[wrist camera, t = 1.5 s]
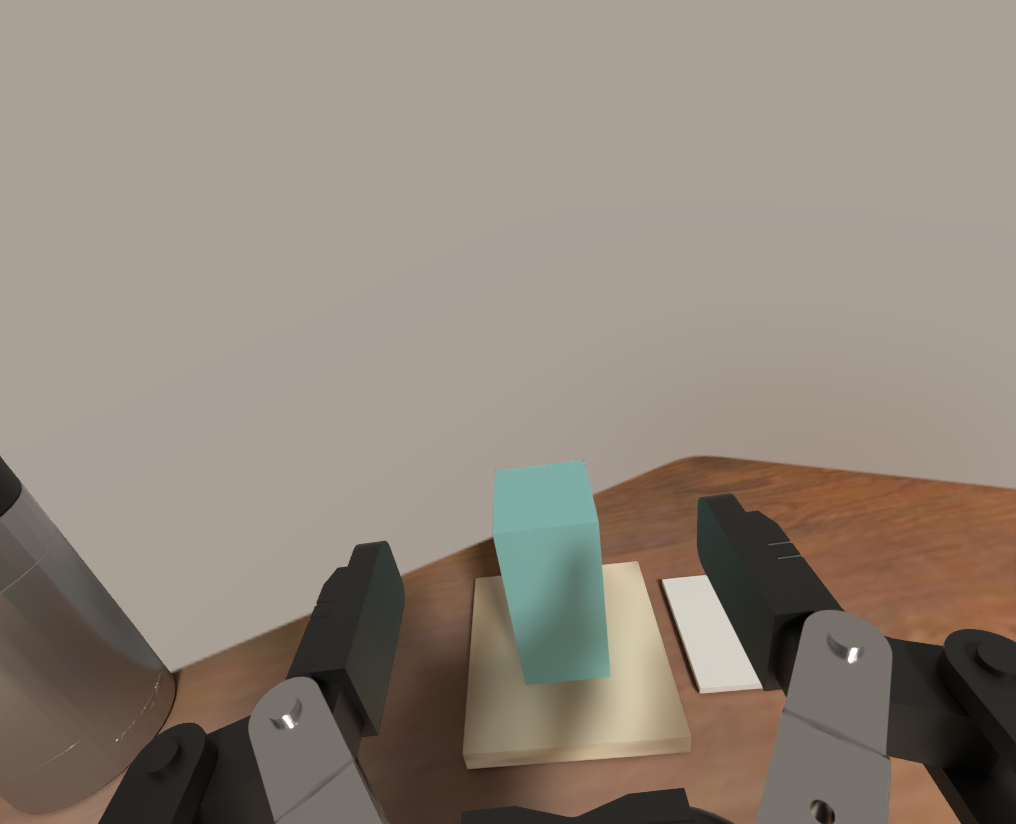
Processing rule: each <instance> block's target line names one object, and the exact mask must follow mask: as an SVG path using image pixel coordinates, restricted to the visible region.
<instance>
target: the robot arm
mask: <svg viewBox="0 0 1016 824" xmlns="http://www.w3.org/2000/svg"><path fill="white" fill-rule="evenodd" d="M697 548H698V554H699V558H700V561H701V564H702V567H703V569H704V571H705V573H706V575H707V577H708V579H709V581H710V583H711V585H712V587H713V589H714V591H715V593H716V595H717V597H718V599H719V601H720V603H721V605H722V607H723V609H724V611H725V613H726V615H727V617H728V619H729V621H730V623H731V625H732V627H733V629H734V631H735V633H736V635H737V637H738V639H739V641H740V643H741V645H742V647H743V649H744V651H745V653H746V655H747V657H748V659H749V661H750V663H751V665H752V667H753V669H754V671H755V673H756V675H757V677H758V679H759V681H760V683H761V685H762V687H763V689H764V691H771V690H779V689H782V690H783V692H784V694H785V696H786V698H787V699H786V703H785V707H784V709H783V711H782V715H781V719H780V723H779V727H778V731H777V735H776V740H775V744H774V748H773V752H772V757H771V761H770V765H769V769H768V774H767V778H766V782H765V786H764V791H763V795H762V799H761V803H760V808H759V812H758V816H757V820H756V824H888V817H889V800H890V783H891V761H890V758H889V757H888V756H891V757H895V758H900V759H904V760H909V761H913V762H918V763H923V765H924V766H925V768H926V769H927V771H928V772H929V774H930V775H931V777H932V779H933V780H934V782H935V783H936V785H937V786H938V788H939V790H940V791H941V793H942V794H943V796H944V797H945V799H946V801H947V802H948V804H949V805H950V807H951V808H952V810H953V811H954V813H955V815H956V816H957V818H958V819H959V821H960V822H961V824H1016V642H1014V641H1012V640H1010V639H1008V638H1005V637H1003V636H1001V635H998V634H995V633H991V632H987V631H983V630H976V629H964V630H958V631H955V632H953V633H951V634H950V635H949V636H948V637H947V638H946V640H945V643H944V645H943V646H938V645H932V644H925V643H918V642H911V641H905V640H899V639H894V638H890V637H886V636H883V634H882V633H881V632H880V631H879V630H878V629H877V628H875V627H874V626H873V625H872V624H870V623H869V622H867V621H865V620H864V619H862V618H860V617H858V616H855V615H853V614H850V613H847V612H845V611H844V610H843V609H842V608H841V606H840V605H839V604H838V603H837V601H836V600H835V599H834V597H833V596H832V595H831V593H830V592H829V591H828V589H827V588H826V587H825V586H824V584H823V583H822V582H821V580H820V579H819V578H818V576H817V575H816V574H815V572H814V571H813V570H812V568H811V567H810V566H809V565H808V563H807V562H806V561H805V559H804V558H803V557H801V556H800V553H799V551H798V550H797V549H796V547H795V546H794V545H793V544H792V543H790V540H789V538H788V537H787V536H786V534H785V533H784V532H783V530H782V529H781V528H780V526H779V525H778V524H777V523H776V522H774V521H773V520H771V519H770V518H768V517H767V516H765V515H764V514H762V513H761V512H759V511H752V512H745V511H744V509H743V508H742V506H741V505H740V503H739V502H738V501H737V499H736V498H735V496H734V495H733V494H731V493H727V494H720V495H713V496H706V497H700V498H699V500H698V521H697ZM404 603H405V593H404V586H403V582H402V579H401V576H400V573H399V570H398V568H397V565H396V562H395V560H394V557H393V554H392V551H391V548H390V546H389V544H388V542H386V541H380V542H373V543H366V544H359V545H356V546H355V548H354V550H353V553H352V556H351V559H350V561H349V564H348V567H340V568H337V569H336V571H335V572H334V573H333V574H332V575H331V577H330V578H329V579H328V580H327V581H326V582H325V584H324V585H323V588H322V590H321V593H320V595H319V598H318V600H317V606H315V608H314V610H313V613H312V615H311V621H309V623H308V625H307V628H306V630H305V633H304V635H303V638H302V640H301V643H300V645H299V648H298V650H297V653H296V655H295V658H294V660H293V663H292V665H291V668H290V670H289V673H288V675H287V677H286V680H285V681H283V682H281V683H280V684H278V685H276V686H275V687H273V688H272V689H271V690H270V691H269V692H267V693H266V694H265V695H264V696H263V697H262V699H261V700H260V701H259V702H258V704H257V705H256V707H255V709H254V710H253V712H252V715H250V716H248V717H246V718H244V719H241V720H239V721H237V722H235V723H232V724H230V725H228V726H225V727H223V728H221V729H218V730H216V731H214V732H212V733H209V734H206V732H205V731H204V730H203V729H202V727H200V726H199V725H197V724H195V723H183V724H179V725H176V726H174V727H171V728H169V729H167V730H165V731H164V732H162V733H161V734H159V735H158V736H156V737H155V735H156V734H157V732H158V731H159V729H160V728H161V726H162V725H163V723H164V721H165V719H166V717H167V715H168V713H169V711H170V709H171V706H172V703H173V700H174V696H175V682H174V678H173V675H172V674H171V673H170V671H169V670H168V669H167V668H166V666H165V665H164V664H163V663H162V661H161V660H160V659H159V657H158V656H157V655H156V654H155V652H154V651H153V650H152V648H151V647H150V646H149V644H148V643H147V642H146V640H145V639H144V638H143V636H142V635H141V634H140V632H139V631H138V630H137V628H136V627H135V626H134V625H133V623H132V622H131V621H130V620H129V619H128V617H127V616H126V614H125V613H124V612H123V611H122V609H121V608H120V607H119V606H118V604H117V603H116V602H115V600H114V599H113V598H112V597H111V595H110V594H109V593H108V592H107V590H106V589H105V588H104V587H103V585H102V584H101V583H100V581H99V580H98V579H97V578H96V576H95V575H94V574H93V573H92V571H91V570H90V569H89V567H88V566H87V565H86V564H85V562H84V561H83V560H82V559H81V557H80V556H79V555H78V554H77V552H76V551H75V550H74V548H73V547H72V546H71V545H70V543H69V542H68V541H67V539H66V538H65V537H64V536H63V534H62V533H61V532H60V531H59V529H58V528H57V527H56V525H55V524H53V522H52V521H51V520H50V518H49V517H48V516H47V515H46V513H45V512H44V511H43V510H42V508H41V507H40V506H39V504H38V503H37V502H36V501H35V499H34V498H33V497H32V495H31V494H30V493H29V492H28V491H27V489H26V488H25V487H24V485H23V484H22V483H21V482H20V480H19V479H18V478H17V477H16V475H15V474H14V473H13V472H12V470H11V469H10V468H9V467H8V465H7V464H6V463H5V462H4V460H3V459H2V458H1V457H0V797H2V798H3V799H4V800H6V801H7V802H8V803H10V804H11V805H12V806H14V807H15V808H16V809H18V810H19V811H22V812H26V813H30V814H37V813H48V812H51V811H55V810H58V809H62V808H65V807H67V806H69V805H71V804H73V803H75V802H78V801H80V800H82V799H84V798H86V797H87V796H89V795H90V794H92V793H94V792H95V791H97V790H98V789H100V788H102V787H103V786H104V785H106V784H107V783H108V782H110V781H111V780H112V779H113V778H115V777H116V776H117V775H119V774H120V773H121V772H122V771H123V770H124V769H125V768H126V767H128V766H129V765H130V764H131V765H130V767H129V768H128V770H127V772H126V774H125V776H124V778H123V779H122V781H121V783H120V785H119V787H118V788H117V790H116V792H115V794H114V796H113V798H112V799H111V801H110V803H109V805H108V807H107V808H106V810H105V812H104V814H103V816H102V818H101V819H100V821H99V823H98V824H390V823H389V821H388V818H387V816H386V814H385V812H384V810H383V808H382V806H381V804H380V802H379V800H378V798H377V796H376V794H375V792H374V790H373V788H372V786H371V784H370V782H369V780H368V777H367V775H366V773H365V771H364V769H363V767H362V765H361V763H360V761H359V759H358V757H357V753H358V749H359V745H360V740H361V737H367V736H376V735H378V734H379V729H380V724H381V719H382V714H383V709H384V704H385V699H386V694H387V689H388V684H389V679H390V674H391V669H392V664H393V659H394V655H395V650H396V645H397V640H398V635H399V630H400V625H401V620H402V615H403V610H404ZM154 737H155V738H154ZM153 738H154V739H153ZM461 824H734V823H732V822H731V821H729V820H727V819H725V818H723V817H721V816H718V815H716V814H714V813H711V812H708V811H706V810H703V809H700V808H695V807H690V806H689V803H688V800H687V796H686V793H685V789H684V788H678V789H669V790H659V791H650V792H641V793H632V794H627V795H625V796H623V797H620V798H618V799H616V800H614V801H611V802H609V803H607V804H605V805H602V806H600V807H598V808H596V809H593V810H591V811H589V812H587V813H584V814H582V815H580V816H577V817H565V816H560V815H556V814H551V813H546V812H541V811H536V810H532V809H527V808H522V807H517V806H512V807H503V808H494V809H485V810H476V811H466V812H462V822H461Z"/></svg>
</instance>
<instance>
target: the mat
mask: <svg viewBox="0 0 1016 824" xmlns="http://www.w3.org/2000/svg"><path fill="white" fill-rule="evenodd" d="M662 585H663V588H664V591H665V594H666V597H667V600H668V603H669V605H670V608H671V611H672V614H673V617H674V620H675V623H676V626H677V629H678V632H679V634H680V637H681V640H682V643H683V646H684V649H685V652H686V655H687V658H688V661H689V663H690V666H691V669H692V672H693V675H694V678H695V681H696V684H697V687H698V690H699V692H700V693H712V692H724V691H735V690H747V689H759V688H763V687H762V685H761V683H760V681H759V679H758V677H757V675H756V673H755V671H754V669H753V667H752V665H751V663H750V661H749V659H748V657H747V655H746V653H745V651H744V649H743V647H742V645H741V643H740V641H739V639H738V637H737V635H736V633H735V631H734V629H733V627H732V625H731V623H730V621H729V619H728V617H727V615H726V613H725V611H724V609H723V607H722V605H721V603H720V601H719V599H718V597H717V595H716V593H715V591H714V589H713V587H712V585H711V583H710V581H709V579H708V577H707V575H701V576H691V577H681V578H672V579H662Z"/></svg>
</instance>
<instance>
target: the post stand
mask: <svg viewBox="0 0 1016 824" xmlns="http://www.w3.org/2000/svg"><path fill="white" fill-rule="evenodd" d="M602 572H603V585H604V598H605V611H606V623H607V636H608V649H609V662H610V675H611V677H610V678H598V679H587V680H576V681H565V682H554V683H542V684H531V685H526V684H525V680H524V675H523V671H522V666H521V662H520V657H519V652H518V648H517V643H516V639H515V634H514V630H513V625H512V620H511V616H510V611H509V607H508V602H507V598H506V593H505V588H504V584H503V579H502V576H493V577H484V578H476V580H475V594H474V607H473V621H472V634H471V648H470V661H469V674H468V688H467V701H466V715H465V728H464V742H463V757H464V760H465V763H466V766H467V768H468V769H475V768H488V767H501V766H514V765H527V764H540V763H553V762H566V761H579V760H592V759H605V758H618V757H631V756H644V755H657V754H670V753H683V752H690V749H691V734H690V731H689V727H688V724H687V721H686V718H685V714H684V711H683V708H682V705H681V701H680V698H679V695H678V691H677V688H676V685H675V682H674V678H673V675H672V672H671V669H670V665H669V662H668V659H667V655H666V652H665V649H664V646H663V642H662V639H661V636H660V633H659V629H658V626H657V623H656V619H655V616H654V613H653V610H652V606H651V603H650V600H649V597H648V593H647V590H646V587H645V583H644V580H643V577H642V574H641V570H640V567H639V564H638V561H635V562H626V563H616V564H607V565H602Z"/></svg>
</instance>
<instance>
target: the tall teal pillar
mask: <svg viewBox="0 0 1016 824" xmlns="http://www.w3.org/2000/svg"><path fill="white" fill-rule="evenodd" d="M494 485H495V486H494V511H493V538H494V543H495V547H496V552H497V556H498V561H499V566H500V570H501V575H502V579H503V584H504V588H505V593H506V598H507V602H508V607H509V611H510V616H511V620H512V625H513V630H514V634H515V639H516V643H517V648H518V652H519V657H520V662H521V666H522V671H523V675H524V680H525V684H526V685H531V684H542V683H554V682H565V681H576V680H587V679H598V678H610V677H611V675H610V662H609V649H608V636H607V623H606V611H605V598H604V585H603V572H602V559H601V546H600V533H599V521H598V517H597V513H596V509H595V504H594V500H593V496H592V492H591V487H590V483H589V479H588V475H587V470H586V466H585V462H584V460H581V461H573V462H565V463H556V464H548V465H540V466H532V467H524V468H516V469H508V470H500V471H495V484H494Z"/></svg>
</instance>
